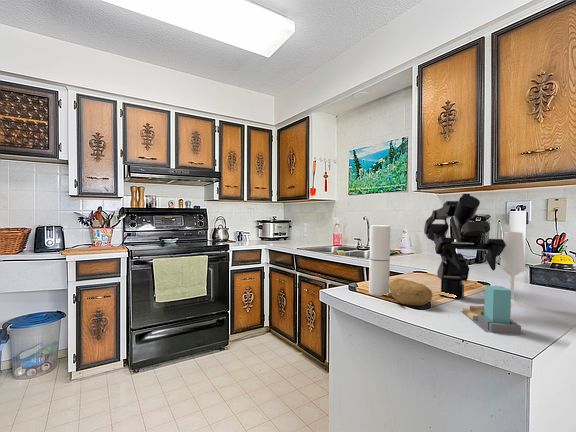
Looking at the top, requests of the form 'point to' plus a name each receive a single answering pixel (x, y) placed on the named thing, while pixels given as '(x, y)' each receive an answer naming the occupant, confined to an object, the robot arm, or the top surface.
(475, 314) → the offcut stack
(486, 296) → the teal slat
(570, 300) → the top surface
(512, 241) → the champagne flute
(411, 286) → the potato
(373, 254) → the cylindrical container
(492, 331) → the slotted grey block
